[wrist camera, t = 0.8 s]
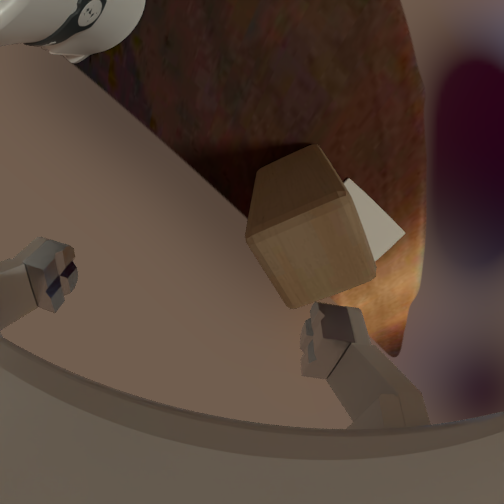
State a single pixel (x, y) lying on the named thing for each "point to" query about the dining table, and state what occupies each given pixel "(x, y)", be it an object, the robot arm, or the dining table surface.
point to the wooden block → (307, 229)
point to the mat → (374, 221)
